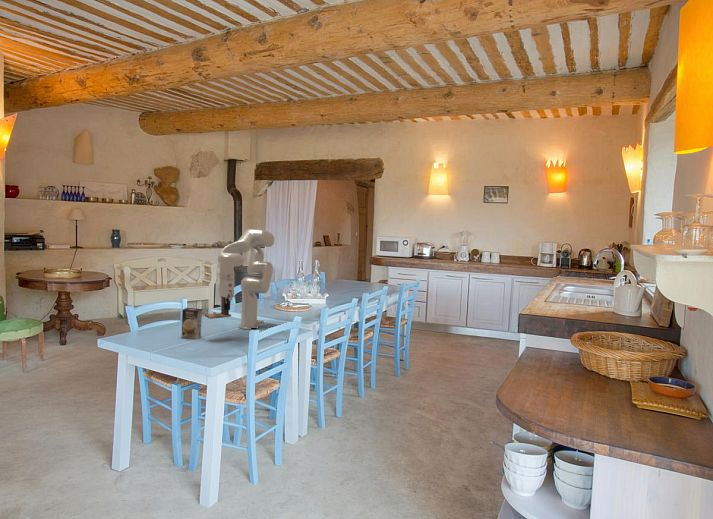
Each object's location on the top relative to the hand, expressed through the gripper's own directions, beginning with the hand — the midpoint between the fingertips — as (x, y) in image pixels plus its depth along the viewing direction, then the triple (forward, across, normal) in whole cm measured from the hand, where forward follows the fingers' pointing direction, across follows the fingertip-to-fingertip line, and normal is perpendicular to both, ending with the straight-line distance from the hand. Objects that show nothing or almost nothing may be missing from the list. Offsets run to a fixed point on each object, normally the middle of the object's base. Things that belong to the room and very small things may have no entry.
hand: (225, 309), depth 277 cm
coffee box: (+17, +11, +15) cm, 25 cm away
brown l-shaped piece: (+4, 0, +4) cm, 6 cm away
